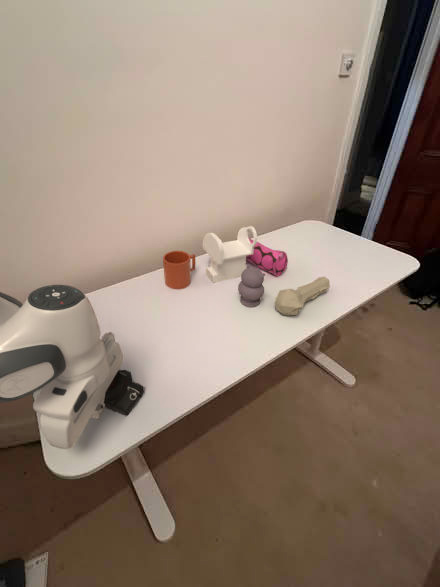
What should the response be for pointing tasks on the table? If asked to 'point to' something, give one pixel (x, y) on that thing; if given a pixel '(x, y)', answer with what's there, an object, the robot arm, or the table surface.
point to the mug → (178, 269)
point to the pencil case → (268, 259)
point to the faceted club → (300, 296)
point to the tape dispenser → (228, 254)
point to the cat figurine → (251, 286)
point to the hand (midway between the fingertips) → (97, 412)
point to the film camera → (122, 393)
